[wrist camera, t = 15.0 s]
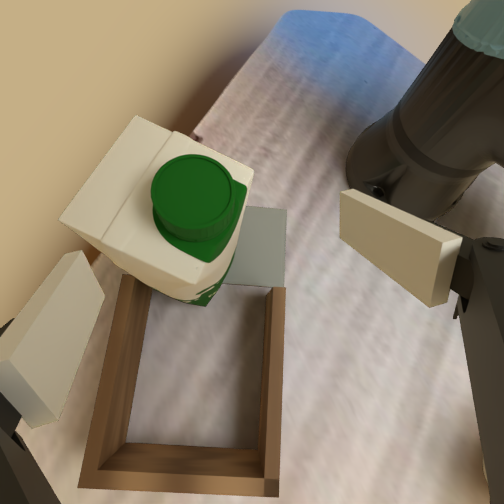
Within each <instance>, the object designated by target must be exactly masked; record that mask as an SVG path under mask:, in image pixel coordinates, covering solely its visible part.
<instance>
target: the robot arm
mask: <svg viewBox="0 0 504 504" xmlns="http://www.w3.org/2000/svg"><path fill="white" fill-rule="evenodd" d="M495 163H497V164H499V165H500V166H501V167H503V168H504V0H471V1H470V3H469V4H468V5H466V6H465V7H464V8H463V9H462V10H461V11H460V12H459V14H458V15H457V17H456V18H455V20H454V24H453V27H452V28H451V30H450V31H449V32H448V34H447V35H446V37H445V38H444V39H443V41H442V42H441V44H440V45H439V47H438V48H437V49H436V51H435V52H434V54H433V55H432V57H431V58H430V59H429V61H428V62H427V64H426V65H425V66H424V68H423V69H422V71H421V72H420V74H419V75H418V76H417V78H416V79H415V81H414V82H413V83H412V85H411V86H410V87H409V89H408V90H407V92H406V93H405V95H404V96H403V97H402V99H401V100H400V102H399V103H398V104H397V106H396V107H395V108H394V109H392V110H391V111H390V112H389V113H387V114H386V115H385V116H383V117H382V118H381V119H380V120H378V121H377V122H375V123H373V124H372V125H370V126H369V127H368V128H366V129H365V130H364V131H363V132H362V133H361V134H360V135H359V137H358V138H357V140H356V141H355V143H354V145H353V146H352V148H351V149H350V151H349V154H348V157H347V161H346V174H347V179H348V182H349V185H350V187H351V189H349V190H345V191H340V238H341V239H342V240H343V241H344V242H346V243H347V244H348V245H350V246H351V247H352V248H353V249H355V250H356V251H357V252H359V253H360V254H361V255H362V256H364V257H365V258H366V259H368V260H369V261H370V262H371V263H373V264H374V265H375V266H376V267H378V268H379V269H380V270H382V271H383V272H384V273H385V274H387V275H388V276H389V277H391V278H392V279H393V280H394V281H396V282H397V283H398V284H400V285H401V286H402V287H403V288H405V289H406V290H407V291H409V292H410V293H411V294H412V295H414V296H415V297H416V298H417V299H419V300H420V301H421V302H423V303H424V304H425V305H426V306H428V307H429V308H430V307H434V306H437V305H440V304H443V303H447V300H448V296H449V292H450V289H452V290H453V291H455V292H456V293H458V294H459V296H458V300H457V304H456V308H455V312H454V315H453V319H457V316H458V315H459V318H460V324H461V330H462V336H463V342H464V347H465V353H466V359H467V365H468V371H469V376H470V382H471V388H472V394H473V400H474V405H475V411H476V417H477V423H478V429H479V435H480V440H481V446H482V452H483V458H484V464H485V469H486V475H487V481H488V487H489V494H490V504H504V239H501V238H493V237H483V238H478V239H476V240H473V239H470V238H468V237H466V236H463V235H461V234H459V233H457V232H454V231H452V230H450V229H446V228H445V227H443V226H441V225H439V226H438V224H436V223H434V222H431V221H433V220H435V219H437V218H438V217H440V216H442V215H443V214H445V213H447V212H448V211H449V210H451V209H452V208H453V207H454V206H455V205H456V204H457V203H458V201H459V200H460V199H461V197H462V195H463V193H464V191H465V190H466V189H467V188H468V187H469V186H470V185H471V184H472V183H473V182H474V180H475V179H476V178H477V176H478V175H479V174H480V173H481V172H482V171H484V170H485V169H487V168H488V167H490V166H491V165H493V164H495ZM104 299H105V295H104V293H103V291H102V289H101V287H100V285H99V283H98V281H97V279H96V277H95V275H94V273H93V271H92V269H91V267H90V265H89V263H88V261H87V259H86V257H85V255H84V253H83V251H82V250H79V251H75V252H71V253H66V254H64V255H63V257H62V258H61V259H60V261H59V262H58V263H57V265H56V266H55V267H54V268H53V270H52V271H51V272H50V274H49V275H48V276H47V277H46V279H45V280H44V281H43V283H42V284H41V285H40V287H39V288H38V289H37V291H36V292H35V293H34V294H33V296H32V297H31V298H30V299H29V301H28V302H27V303H26V305H25V306H24V307H23V309H22V310H21V311H20V312H19V314H18V315H17V316H16V318H13V319H12V320H10V321H9V322H8V323H6V324H5V325H4V326H3V327H2V328H0V504H61V503H60V501H59V499H58V498H57V496H56V494H55V493H54V491H53V489H52V488H51V486H50V484H49V483H48V481H47V479H46V478H45V476H44V474H43V473H42V471H41V469H40V468H39V466H38V464H37V463H36V461H35V459H34V457H33V456H32V454H31V452H30V451H29V449H28V447H27V446H26V444H25V442H24V441H23V439H22V437H21V436H20V435H19V434H18V433H17V432H16V431H15V429H16V427H17V425H18V423H19V421H20V419H21V417H22V418H23V419H24V421H25V422H26V423H27V424H28V425H29V426H30V427H31V428H36V427H39V426H42V425H46V424H49V423H52V422H55V421H59V418H60V415H61V413H62V410H63V407H64V405H65V402H66V399H67V397H68V394H69V391H70V389H71V386H72V383H73V381H74V378H75V376H76V373H77V370H78V368H79V365H80V362H81V360H82V357H83V354H84V352H85V349H86V346H87V344H88V341H89V338H90V336H91V333H92V330H93V328H94V325H95V323H96V320H97V317H98V315H99V312H100V309H101V307H102V304H103V301H104Z"/></svg>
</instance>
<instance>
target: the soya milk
mask: <svg viewBox="0 0 504 504" xmlns="http://www.w3.org/2000/svg"><path fill="white" fill-rule="evenodd" d="M253 176H254V170H253V169H251V168H249V167H247V166H245V165H243V164H241V163H239V162H237V161H235V160H233V159H231V158H229V157H227V156H225V155H223V154H221V153H219V152H217V151H215V150H212V149H210V148H208V147H206V146H204V145H202V144H200V143H198V142H196V141H194V140H192V139H191V138H190V137H188V136H185V135H184V134H181V133H179V132H176V131H174V132H171V131H169V130H167V129H165V128H162V127H160V126H158V125H156V124H154V123H152V122H150V121H148V120H145V119H143V118H141V117H139V116H137V115H135V116H134V118H133V119H132V120H131V121H130V123H129V124H128V126H127V127H126V128H125V130H124V131H123V132H122V134H121V135H120V136H119V138H118V139H117V140H116V142H115V143H114V145H113V146H112V147H111V148H110V150H109V151H108V153H107V154H106V155H105V156H104V158H103V159H102V161H101V162H100V163H99V165H98V166H97V167H96V169H95V170H94V171H93V173H92V174H91V175H90V177H89V178H88V180H87V181H86V182H85V184H84V185H83V186H82V188H81V189H80V190H79V191H78V193H77V194H76V196H75V197H74V198H73V199H72V201H71V202H70V204H69V205H68V206H67V208H66V209H65V210H64V212H63V213H62V214H61V216H60V217H59V218H58V220H59V221H60V222H61V223H63V224H64V225H65V226H67V227H68V228H70V229H72V230H73V231H74V232H76V233H77V234H78V235H79V236H81V237H82V238H83V239H85V240H86V241H88V242H89V243H90V244H91V245H93V246H94V247H95V248H97V249H98V250H99V251H101V252H102V253H103V254H105V255H106V256H107V257H108V258H110V259H111V260H112V262H113V263H114V264H115V265H116V266H118V267H119V268H121V269H124V270H125V271H126V272H128V273H129V274H131V275H132V276H134V277H135V278H137V279H139V280H140V281H142V282H143V283H145V284H146V285H148V286H149V287H151V288H153V289H155V290H157V291H159V292H161V293H163V294H165V295H167V296H169V297H172V298H174V299H176V300H179V301H181V302H184V303H189V304H194V305H199V306H205V307H206V305H207V304H208V303H209V301H210V300H211V299H212V297H213V296H214V295H215V293H216V292H217V291H218V289H219V288H220V286H221V284H222V282H223V280H224V279H225V277H226V275H227V273H228V271H229V269H230V267H231V265H232V262H233V259H234V255H235V251H236V246H237V241H238V237H239V232H240V227H241V223H242V219H243V215H244V211H245V207H246V203H247V199H248V195H249V191H250V187H251V183H252V180H253Z"/></svg>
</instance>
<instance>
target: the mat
mask: <svg viewBox="0 0 504 504" xmlns="http://www.w3.org/2000/svg"><path fill="white" fill-rule="evenodd" d="M286 218H287V210H285V209H274V208H263V207H253V206H246V207H245V211H244V215H243V219H242V223H241V227H240V232H239V237H238V241H237V246H236V251H235V255H234V259H233V262H232V265H231V267H230V269H229V271H228V273H227V275H226V277H225V279H224V280H223V282H222V284H235V285H247V286H259V287H272V288H273V287H284V275H285V247H286Z"/></svg>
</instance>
